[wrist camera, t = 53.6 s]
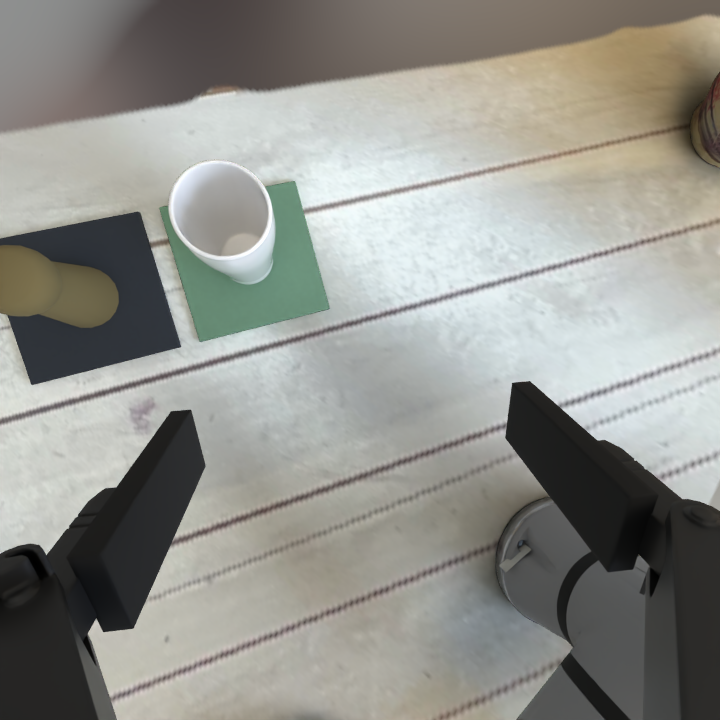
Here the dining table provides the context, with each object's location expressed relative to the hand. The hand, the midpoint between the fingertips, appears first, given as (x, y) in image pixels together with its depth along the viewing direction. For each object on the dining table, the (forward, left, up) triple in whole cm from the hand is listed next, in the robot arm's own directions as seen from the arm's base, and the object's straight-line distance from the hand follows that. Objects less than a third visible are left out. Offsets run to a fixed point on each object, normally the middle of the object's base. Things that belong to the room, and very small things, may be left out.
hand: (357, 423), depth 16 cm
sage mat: (+4, -14, -27) cm, 30 cm away
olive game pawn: (+20, -14, -26) cm, 36 cm away
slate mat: (+20, -14, -27) cm, 36 cm away
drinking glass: (+4, -14, -26) cm, 30 cm away
